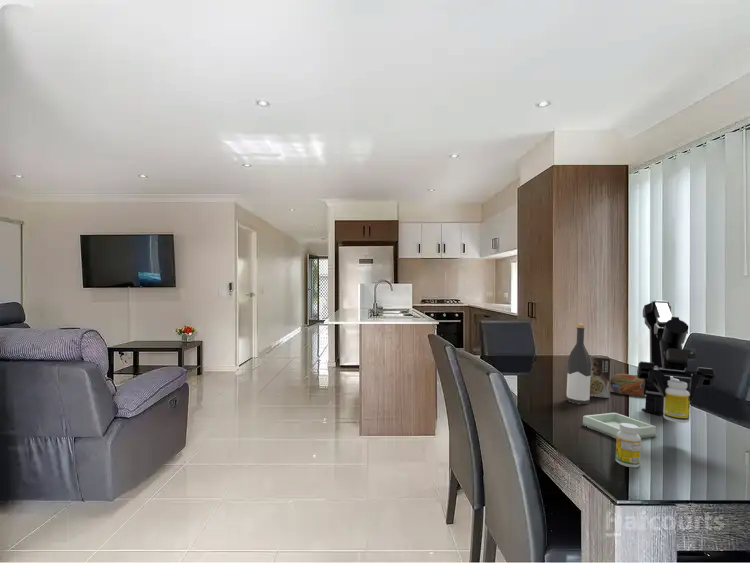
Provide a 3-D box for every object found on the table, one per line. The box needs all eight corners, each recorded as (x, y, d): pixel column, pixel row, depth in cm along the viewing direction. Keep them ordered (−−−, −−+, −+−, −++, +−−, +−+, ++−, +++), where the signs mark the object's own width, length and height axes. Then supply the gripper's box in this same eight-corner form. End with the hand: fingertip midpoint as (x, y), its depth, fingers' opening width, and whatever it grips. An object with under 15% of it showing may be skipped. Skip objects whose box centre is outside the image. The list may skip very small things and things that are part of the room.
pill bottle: (693, 424, 121) (694, 385, 121) (668, 421, 122) (669, 383, 122) (683, 417, 127) (685, 380, 127) (659, 415, 128) (661, 378, 128)
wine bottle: (590, 401, 167) (593, 324, 167) (588, 406, 160) (591, 325, 160) (568, 397, 171) (571, 322, 171) (564, 402, 164) (567, 323, 164)
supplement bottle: (637, 470, 105) (639, 430, 105) (613, 463, 108) (614, 425, 108) (641, 463, 109) (643, 425, 109) (617, 457, 112) (619, 420, 112)
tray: (614, 421, 142) (615, 412, 142) (655, 436, 129) (656, 426, 129) (582, 425, 137) (583, 415, 137) (622, 441, 124) (622, 430, 124)
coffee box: (606, 394, 178) (608, 355, 178) (609, 398, 172) (611, 358, 172) (582, 392, 181) (583, 353, 181) (584, 395, 175) (586, 356, 175)
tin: (610, 392, 182) (610, 372, 182) (609, 391, 185) (609, 371, 185) (651, 397, 177) (652, 377, 177) (649, 395, 180) (650, 375, 180)
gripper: (639, 335, 132) (643, 378, 122) (715, 340, 124) (725, 387, 114) (635, 356, 139) (638, 398, 129) (707, 363, 131) (715, 409, 121)
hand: (677, 398), depth 123 cm, fingers closed on pill bottle, 6 cm apart
